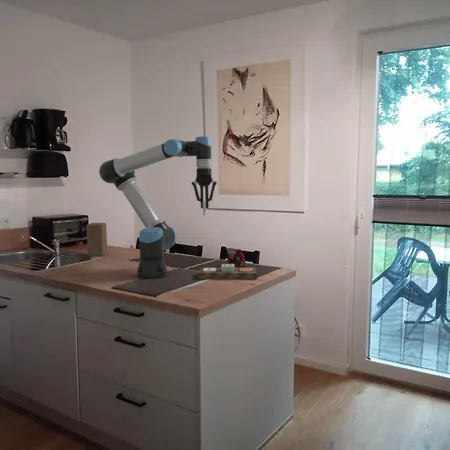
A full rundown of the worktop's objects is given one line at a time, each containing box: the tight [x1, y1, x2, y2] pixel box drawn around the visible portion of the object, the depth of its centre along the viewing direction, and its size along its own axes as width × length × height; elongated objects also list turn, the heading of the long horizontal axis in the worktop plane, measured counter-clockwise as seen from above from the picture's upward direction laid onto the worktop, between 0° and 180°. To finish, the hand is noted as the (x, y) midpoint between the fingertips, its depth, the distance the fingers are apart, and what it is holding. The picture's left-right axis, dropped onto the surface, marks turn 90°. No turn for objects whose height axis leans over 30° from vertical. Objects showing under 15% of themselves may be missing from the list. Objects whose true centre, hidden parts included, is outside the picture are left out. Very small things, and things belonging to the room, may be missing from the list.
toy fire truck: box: [224, 247, 247, 268], centre depth 239 cm, size 7×12×10 cm, turn 42°
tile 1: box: [203, 267, 217, 272], centre depth 221 cm, size 6×6×3 cm
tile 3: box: [239, 267, 254, 272], centre depth 219 cm, size 6×6×3 cm
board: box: [197, 267, 258, 280], centre depth 220 cm, size 28×12×3 cm, turn 86°
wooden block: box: [86, 222, 108, 257], centre depth 282 cm, size 10×10×20 cm
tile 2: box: [220, 263, 234, 272], centre depth 220 cm, size 6×6×3 cm
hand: (204, 214), depth 227 cm, fingers closed
